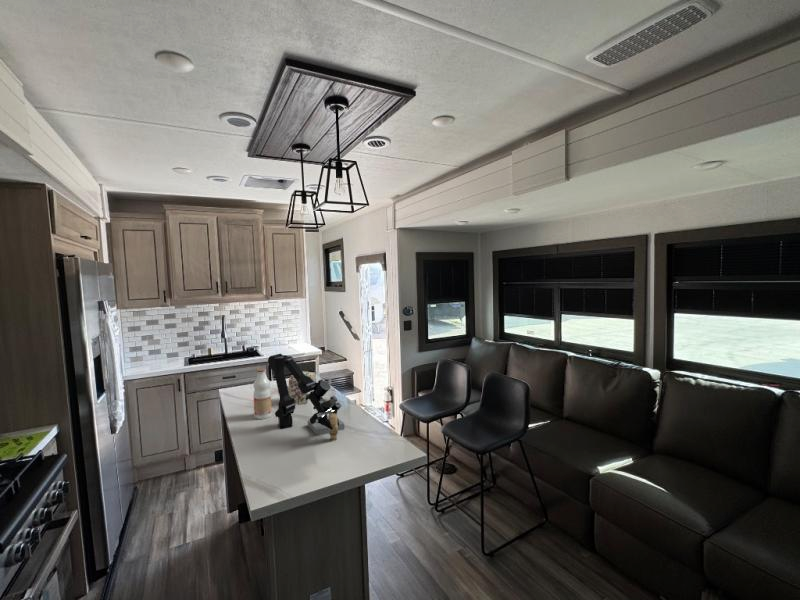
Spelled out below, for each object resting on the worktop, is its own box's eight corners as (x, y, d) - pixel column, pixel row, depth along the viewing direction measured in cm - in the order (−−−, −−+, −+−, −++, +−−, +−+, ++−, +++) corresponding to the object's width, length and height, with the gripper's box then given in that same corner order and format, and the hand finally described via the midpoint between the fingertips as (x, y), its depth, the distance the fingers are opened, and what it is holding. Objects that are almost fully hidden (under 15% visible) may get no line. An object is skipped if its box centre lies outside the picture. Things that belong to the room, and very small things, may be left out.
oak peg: (331, 441, 183) (330, 417, 182) (328, 438, 186) (327, 414, 185) (339, 439, 185) (338, 415, 184) (336, 436, 189) (335, 412, 188)
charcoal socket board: (317, 435, 190) (317, 430, 190) (307, 425, 203) (307, 420, 202) (344, 428, 198) (344, 423, 198) (333, 419, 211) (333, 414, 210)
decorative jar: (288, 405, 234) (287, 377, 232) (289, 399, 245) (288, 372, 244) (308, 403, 237) (307, 376, 235) (308, 397, 248) (307, 371, 247)
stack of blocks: (309, 384, 279) (308, 367, 278) (316, 384, 277) (315, 368, 276) (291, 392, 259) (290, 375, 259) (299, 393, 257) (298, 376, 256)
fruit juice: (262, 420, 210) (260, 372, 208) (250, 417, 215) (248, 370, 213) (275, 414, 219) (273, 368, 217) (263, 412, 223) (261, 366, 221)
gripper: (313, 397, 178) (331, 424, 173) (338, 387, 194) (355, 411, 189) (301, 411, 182) (319, 437, 178) (327, 399, 198) (344, 423, 194)
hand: (335, 427), depth 185 cm, fingers open, 5 cm apart
